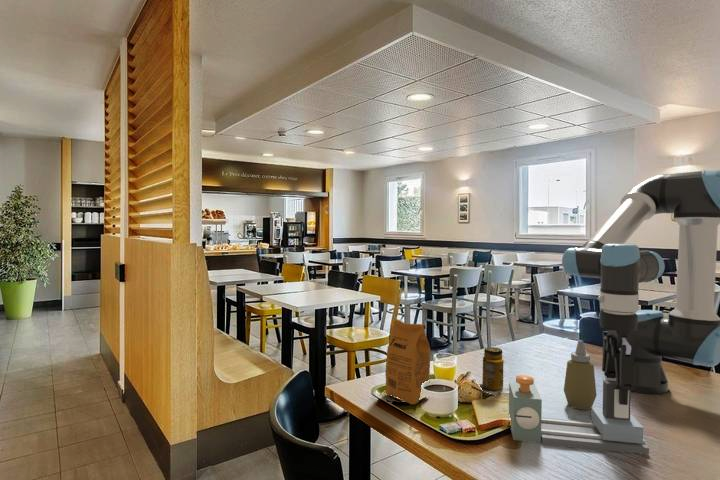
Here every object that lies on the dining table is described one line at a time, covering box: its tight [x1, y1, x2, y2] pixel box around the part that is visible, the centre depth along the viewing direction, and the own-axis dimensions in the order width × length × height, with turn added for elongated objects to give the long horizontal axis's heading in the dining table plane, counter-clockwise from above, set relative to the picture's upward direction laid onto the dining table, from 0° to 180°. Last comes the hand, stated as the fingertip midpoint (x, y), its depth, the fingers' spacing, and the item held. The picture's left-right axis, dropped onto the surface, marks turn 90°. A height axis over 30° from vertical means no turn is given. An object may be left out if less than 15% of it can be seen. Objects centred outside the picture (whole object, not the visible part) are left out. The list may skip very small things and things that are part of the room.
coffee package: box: [385, 318, 431, 406], centre depth 127 cm, size 10×12×22 cm
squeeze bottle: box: [563, 340, 597, 411], centre depth 120 cm, size 8×8×18 cm
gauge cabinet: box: [508, 381, 543, 444], centre depth 105 cm, size 6×10×10 cm, turn 167°
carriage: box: [590, 379, 644, 444], centre depth 101 cm, size 8×9×12 cm
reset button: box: [515, 374, 535, 393], centre depth 105 cm, size 4×4×3 cm
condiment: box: [478, 346, 509, 395], centre depth 133 cm, size 7×8×12 cm
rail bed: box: [541, 416, 650, 455], centre depth 103 cm, size 22×11×2 cm, turn 77°
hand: (616, 411), depth 101 cm, fingers open, 6 cm apart
